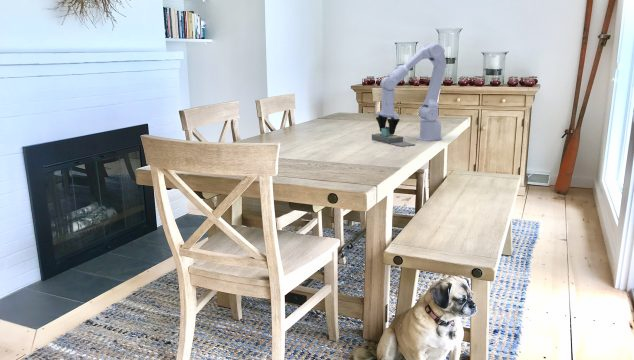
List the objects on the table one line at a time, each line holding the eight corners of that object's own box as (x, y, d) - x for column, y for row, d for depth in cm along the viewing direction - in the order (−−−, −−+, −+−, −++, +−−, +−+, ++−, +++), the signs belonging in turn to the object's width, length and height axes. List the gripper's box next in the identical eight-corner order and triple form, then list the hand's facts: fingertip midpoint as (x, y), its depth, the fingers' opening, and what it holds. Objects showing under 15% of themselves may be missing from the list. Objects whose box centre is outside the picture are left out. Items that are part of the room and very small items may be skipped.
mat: (404, 142, 241) (404, 141, 241) (415, 145, 234) (415, 144, 234) (390, 144, 237) (390, 143, 237) (400, 146, 230) (400, 146, 230)
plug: (388, 140, 249) (388, 126, 247) (393, 141, 245) (393, 127, 244) (381, 140, 247) (381, 126, 245) (386, 142, 243) (386, 127, 242)
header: (385, 138, 254) (385, 132, 253) (403, 142, 242) (403, 136, 241) (371, 139, 250) (371, 133, 250) (388, 143, 238) (389, 137, 237)
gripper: (371, 102, 246) (371, 131, 249) (389, 105, 234) (389, 135, 237) (384, 101, 249) (383, 130, 253) (402, 104, 237) (401, 134, 240)
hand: (387, 132), depth 245 cm, fingers open, 7 cm apart
